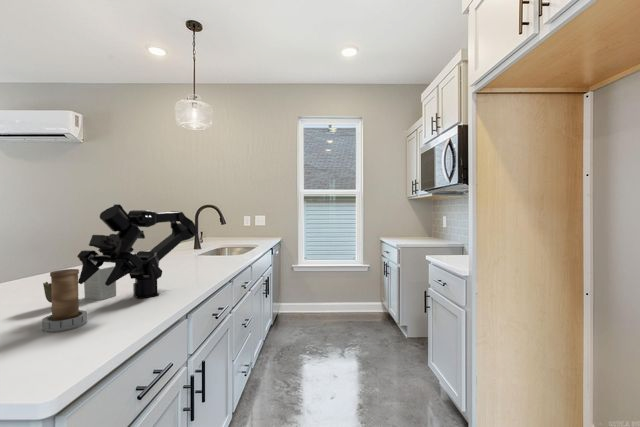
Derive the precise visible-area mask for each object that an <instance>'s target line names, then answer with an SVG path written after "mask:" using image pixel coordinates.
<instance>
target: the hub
mask: <svg viewBox="0 0 640 427" xmlns="http://www.w3.org/2000/svg"><path fill="white" fill-rule="evenodd" d="M87 322H88V312H87V310H81V309H79V316H78V317H75V318H72V319H67V320H62V321H52V314H50V315H47V316H45V317H43V318H42V319H41V324H42V325H41V327H42V332H44V333H59V332H60V333H61V332H66V331H70V330H76V329H78V328H79V327H83V326H84V325H86V324H87Z"/></svg>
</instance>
